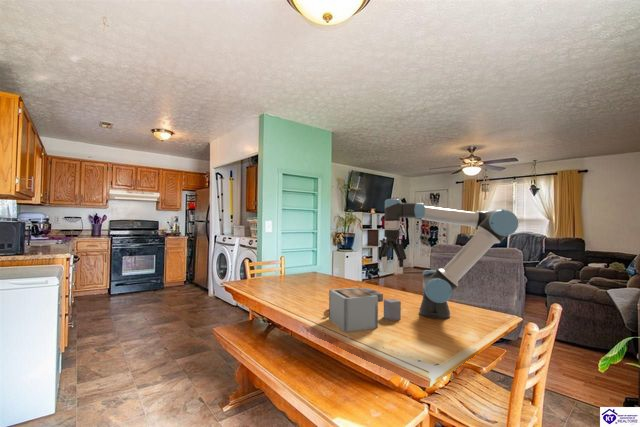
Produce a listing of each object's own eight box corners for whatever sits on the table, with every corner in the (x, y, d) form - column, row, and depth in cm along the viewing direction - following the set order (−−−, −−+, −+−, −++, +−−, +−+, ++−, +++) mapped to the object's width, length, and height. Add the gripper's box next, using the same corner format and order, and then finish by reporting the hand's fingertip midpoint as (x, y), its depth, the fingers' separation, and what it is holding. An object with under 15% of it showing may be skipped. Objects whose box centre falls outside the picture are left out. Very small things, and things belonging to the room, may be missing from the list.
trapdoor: (368, 294, 154) (368, 287, 154) (383, 301, 141) (383, 294, 141) (337, 297, 148) (337, 290, 148) (350, 305, 135) (350, 297, 135)
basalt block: (393, 315, 154) (393, 298, 155) (400, 319, 149) (400, 301, 149) (383, 317, 152) (383, 299, 153) (390, 320, 147) (390, 302, 147)
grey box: (358, 315, 154) (358, 287, 155) (377, 327, 137) (377, 295, 137) (329, 319, 148) (329, 289, 149) (345, 332, 131) (345, 298, 132)
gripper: (372, 228, 162) (372, 267, 162) (400, 230, 139) (400, 276, 138) (384, 228, 165) (384, 267, 164) (414, 230, 141) (413, 275, 141)
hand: (391, 271), depth 151 cm, fingers open, 13 cm apart
